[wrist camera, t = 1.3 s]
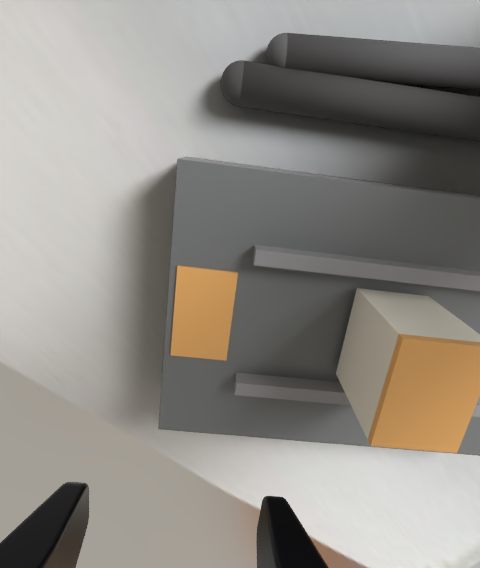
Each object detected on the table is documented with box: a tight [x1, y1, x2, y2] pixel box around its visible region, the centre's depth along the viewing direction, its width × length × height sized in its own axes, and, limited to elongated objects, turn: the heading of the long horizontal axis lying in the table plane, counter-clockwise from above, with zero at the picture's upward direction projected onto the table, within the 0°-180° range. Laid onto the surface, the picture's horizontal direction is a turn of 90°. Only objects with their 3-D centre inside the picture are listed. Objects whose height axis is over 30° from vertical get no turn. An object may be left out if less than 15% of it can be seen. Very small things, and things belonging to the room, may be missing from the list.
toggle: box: [336, 288, 480, 453], centre depth 14 cm, size 3×4×4 cm
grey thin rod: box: [266, 33, 480, 89], centre depth 15 cm, size 14×1×1 cm, turn 87°
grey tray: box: [158, 157, 480, 456], centre depth 18 cm, size 18×12×4 cm, turn 83°
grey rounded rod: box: [221, 61, 480, 141], centre depth 16 cm, size 16×2×2 cm, turn 83°
